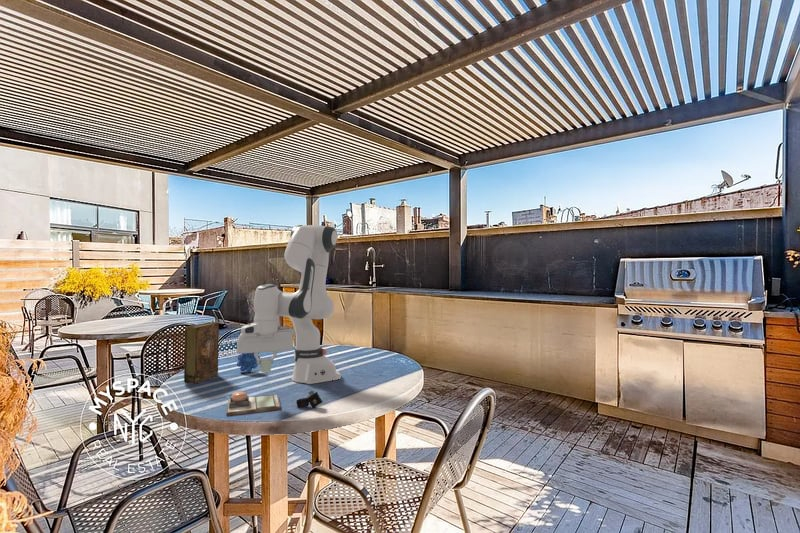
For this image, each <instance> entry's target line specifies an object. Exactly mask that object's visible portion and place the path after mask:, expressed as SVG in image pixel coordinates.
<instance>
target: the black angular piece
mask: <svg viewBox="0 0 800 533" xmlns="http://www.w3.org/2000/svg"><path fill="white" fill-rule="evenodd" d="M308 394H309V395H307V397H304V398H299V399H297V400H295V401H296V407H297V409H298V408H301V409H302V408H303V409H304V408H306V407H307V408H308V406H309V405H310V406H311V408H312V409H314V408H315V407H317V406H319V405H321V404H322V403H323V401H324V400H322V399H321V397H320V395H319V393H318V391H314V390H310V391H309V392H308Z"/></svg>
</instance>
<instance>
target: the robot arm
mask: <svg viewBox="0 0 800 533" xmlns="http://www.w3.org/2000/svg"><path fill="white" fill-rule="evenodd" d="M289 235H290V238H289V240H288V243H287V245H286V248H285V251H284V255H283V257H284V260H285V262H286V264H287V265H288V266H289V267H290V268H292V269H293V270H296V271H297V272H299V273H300V274H301V276H300V281H299V287H298V290H297V291H296V292H295V291H294V292H287V291H286V292H285V291H282V290H280V289H278V288H279V287H278V285H277V284H274V283H266V284H261V285H260V284H259V286H257V287H256V289H255V293H254V299H253V300H254V301H253V309H254V316H253V322H251V323H247V324H245V325H242V326H241V328H240V334H239V335H238V339H237V345H236V352H237V353H238V354H239V355H240V354H242V353H254V356H255V358H256V359H257V364H258V365H261V358H260V359H259V358H258V356H259V355H258V352H259V353H270V352H272V356H271V357H268V358H269V360H270V361H271V364H274V363H275V362H274V359H275V358H276V356H277V355H278V352H288V351H292V350H293V349H294V352H293V353H294V354H293V357H294V358H293V359H294V360H293V361H294V368H293V371H292V376H291V381H292V382H295V383H302V384H303V383H304V384H307V385H312V384H319V383H326V382H331V381H332V380H333V381H338V379H339V380H341V378H342V375H341V373H340V372H339V371H337V367H336V364H335V363H334V362H333V361H332V360H331V359H330V358H328V357H327V356H326V354H327V350H326V349H324V348H323V347H321V332H320V329H319V328H318V327H317V326H316V325H315V324H314V323H313V320H323V319H328V318H330V317H331V316H332V315H333V313H334V310H335V304H334V302H333V301H334V300H333V299H332V298H331V297H330V296H329V294H328V292H327V288H326V282H327V274H328V268H329V262H330V261H329V259H330V254H329V253H330V252H331V251H332V250H333V249H334V248H335V246H336V245H337V242H338V232H337V230H336V229H335V227H333V226H329V225H326V226H325V225H320V224H310V225H308V224H306V225H303V224H299V225H295V226H294V227H292V229H291V230H290V234H289ZM279 317H287V318H289V319H290V321H291V322H292V325H293V327H291V326H288V325H287V326H284V325H283V326H279ZM294 336H295V348H294V340H293V338H294ZM257 355H258V356H257Z"/></svg>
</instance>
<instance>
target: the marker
mask: <svg viewBox="0 0 800 533" xmlns="http://www.w3.org/2000/svg"><path fill="white" fill-rule="evenodd" d="M269 358H270V357H260V359H261V364H260V372H261V373H268V372H269V373H270V372H271V371H272V363H271V361H270V360H269Z"/></svg>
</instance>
